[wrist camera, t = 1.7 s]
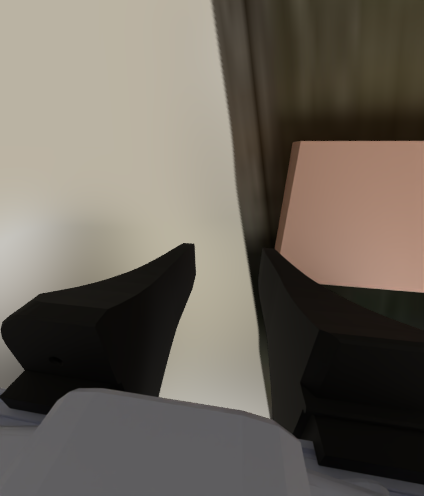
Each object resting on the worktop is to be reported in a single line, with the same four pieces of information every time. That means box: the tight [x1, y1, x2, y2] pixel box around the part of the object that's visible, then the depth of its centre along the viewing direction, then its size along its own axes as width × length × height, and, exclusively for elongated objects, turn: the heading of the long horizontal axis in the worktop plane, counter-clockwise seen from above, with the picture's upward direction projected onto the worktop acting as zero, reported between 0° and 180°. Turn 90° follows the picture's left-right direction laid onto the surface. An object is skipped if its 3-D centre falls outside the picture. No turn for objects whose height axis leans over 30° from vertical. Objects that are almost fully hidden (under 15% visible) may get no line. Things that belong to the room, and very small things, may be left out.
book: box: [275, 141, 424, 292], centre depth 17 cm, size 12×15×3 cm
